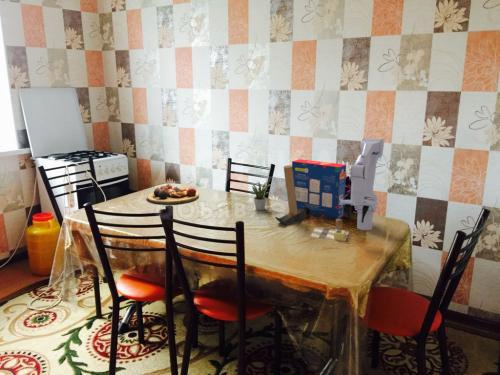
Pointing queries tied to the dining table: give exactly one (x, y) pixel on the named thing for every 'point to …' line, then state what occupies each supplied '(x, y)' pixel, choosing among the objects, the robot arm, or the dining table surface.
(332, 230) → the striped beige square plate
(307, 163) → the blue product box
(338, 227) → the grey-capped tan cylinder
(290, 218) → the hammer
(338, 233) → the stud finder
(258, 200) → the house plant
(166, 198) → the wooden plate with food
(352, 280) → the dining table surface
